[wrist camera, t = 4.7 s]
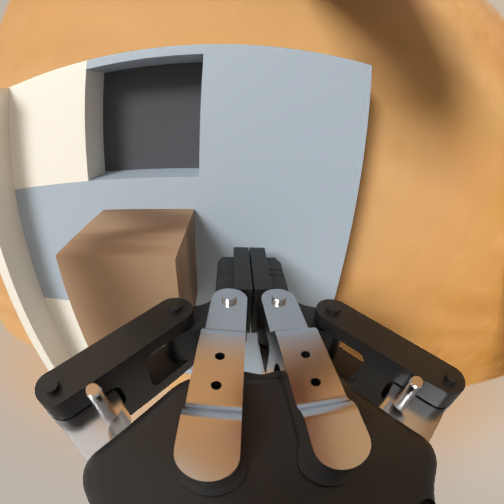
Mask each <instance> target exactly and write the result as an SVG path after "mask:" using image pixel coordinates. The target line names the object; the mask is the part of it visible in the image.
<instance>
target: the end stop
mask: <svg viewBox="0 0 504 504" xmlns="http://www.w3.org/2000/svg"><path fill="white" fill-rule="evenodd" d="M0 273H1V276H2V279H3V281H4V284H5V286H6V289H7V291H8V294H9V296H10V298H11V301H12V303H13V305H14V307H15V310H16V312H17V314H18V316H19V318H20V320H21V322H22V324H23V326H24V328H25V330H26V332H27V334H28V336H29V338H30V340H31V342H32V343H33V345H34V347H35V349H36V350H37V352H38V354H39V356H40V357H41V359H42V361H43V362H44V364H45V366H46V367H47V369H48V370H49V371H50V370H52V369H53V368H55V367H57V366H58V365H60V364H61V363H63V362H65V361H66V360H68V359H70V358H71V355H70V353H69V351H68V350H67V348H66V346H65V344H64V342H63V339H62V337H61V335H60V333H59V331H58V329H57V327H56V324H55V322H54V320H53V318H52V315H51V313H50V311H49V308H48V306H47V303H46V301H45V298H44V296H43V293H42V290H41V288H40V285H39V282H38V279H37V276H36V273H35V270H34V267H33V264H32V261H31V257H30V254H29V251H28V247H27V244H26V240H25V236H24V232H23V228H22V224H21V219H20V215H19V210H18V205H17V199H16V194H15V187H14V181H13V173H12V165H11V155H10V142H9V88H0Z"/></svg>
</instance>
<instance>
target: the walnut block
mask: <svg viewBox="0 0 504 504" xmlns="http://www.w3.org/2000/svg"><path fill="white" fill-rule="evenodd" d="M55 256H56V260H57V263H58V267H59V270H60V273H61V277H62V280H63V283H64V286H65V289H66V292H67V295H68V298H69V301H70V303H71V306H72V309H73V312H74V314H75V317H76V319H77V322H78V324H79V327H80V329H81V332H82V334H83V336H84V339H85V341H86V343H87V345H88V347H89V346H91V345H92V344H94V343H95V342H97V341H99V340H100V339H102V338H104V337H105V336H107V335H108V334H110V333H112V332H113V331H115V330H117V329H118V328H120V327H121V326H123V325H125V324H126V323H128V322H130V321H131V320H133V319H134V318H136V317H138V316H139V315H141V314H143V313H144V312H146V311H147V310H149V309H151V308H152V307H154V306H156V305H157V304H159V303H161V302H162V301H164V300H166V299H169V298H183V299H186V300H188V301H189V302H190V303H191V304H192V306H196V300H197V294H198V287H197V269H196V248H195V217H194V209H114V210H103V211H102V212H100V213H99V214H98V215H97V216H96V217H95V218H94V219H93V220H91V221H90V222H89V223H88V224H87V225H86V226H85V227H84V228H83V229H82V230H81V231H80V232H79V233H77V234H76V235H75V236H74V237H73V238H72V239H71V240H70V241H69V242H68V243H67V244H66V245H65V246H64V247H63V248H62V249H61V250H60V251H59V252H58V253H57V254H56V255H55ZM162 347H163V346H162ZM158 350H159V349H158ZM155 352H156V351H155ZM151 355H152V354H151Z"/></svg>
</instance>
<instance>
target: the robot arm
mask: <svg viewBox="0 0 504 504" xmlns="http://www.w3.org/2000/svg"><path fill="white" fill-rule="evenodd" d="M250 323H251V333H257V336H258V338H257V350H258V355H259V360H260V365H261V370H262V374H255V373H250V372H245V371H244V360H245V343H246V339H247V333H250ZM341 341H342V342H343V343H345V344H347V345H348V346H350V347H351V348H353V349H354V350H356V351H357V352H359V353H360V354H361V355H362V356H363V359H364V363H363V362H362V361H360V360H359V359H357V358H355V357H354V356H352V355H351V354H349V353H348V352H346V351H345V350H343V349H342V348H340V347H339V345H340V342H341ZM162 346H163V347H162ZM158 349H159V350H158ZM155 351H156V352H155ZM151 354H152V355H151ZM192 366H193V369H192V374H191V379H189V380H186V381H184V382H182V383H180V384H178V385H177V386H175V387H174V388H172V389H171V390H170V391H169V392H168V393H167V394H165V395H164V396H163V397H162V398H161V399H160V400H158V402H156V403H155V404H154V405H153V406H152V407H150V408H149V409H148V410H147V411H146V412H145V413H143V414H142V415H141V416H140V417H138V418H137V419H136V420H135V421H134V422H133V423H131V417H130V415H132V414H133V413H134V412H136V411H137V410H138V409H139V408H141V407H142V406H143V405H145V404H146V403H147V402H149V401H150V400H151V399H152V398H154V397H155V396H156V395H157V394H158V393H160V392H161V391H162V390H164V389H165V388H166V387H167V386H169V385H170V384H171V383H172V382H174V381H175V380H176V379H177V378H179V377H180V376H181V375H182V374H184V373H185V372H186V371H187V370H188V369H190V368H191V367H192ZM464 388H465V379H464V377H463V375H462V373H461V372H460V371H459V370H458V369H456V368H455V367H453V366H451V365H450V364H448V363H446V362H444V361H443V360H441V359H439V358H437V357H436V356H434V355H432V354H431V353H429V352H427V351H425V350H424V349H422V348H420V347H418V346H417V345H415V344H413V343H412V342H410V341H408V340H406V339H405V338H403V337H401V336H399V335H398V334H396V333H394V332H393V331H391V330H389V329H387V328H386V327H384V326H382V325H380V324H379V323H377V322H375V321H374V320H372V319H370V318H368V317H367V316H365V315H363V314H361V313H360V312H358V311H356V310H354V309H353V308H351V307H349V306H348V305H346V304H344V303H342V302H340V301H338V300H333V299H326V300H322V301H320V302H319V303H318V304H317V306H316V307H311V306H306V305H302V304H300V303H298V302H297V300H296V298H295V296H294V295H293V294H292V293H290V292H289V290H288V287H287V283H286V280H285V276H284V273H283V271H282V266H281V263H280V262H279V261H278V260H277V259H276V258H267V257H266V253H265V248H259V247H249V248H248V247H234V249H233V257H222V258H221V259H220V260H219V261H218V265H217V276H216V287H215V293H214V294H213V296H212V298H211V300H210V301H209V302H207V303H205V304H202V305H198V306H192V304H191V303H190V302H189V301H188V300H186V299H183V298H169V299H166V300H164V301H162V302H161V303H159V304H157V305H156V306H154V307H152V308H151V309H149V310H147V311H146V312H144V313H143V314H141V315H139V316H138V317H136V318H134V319H133V320H131V321H130V322H128V323H126V324H125V325H123V326H121V327H120V328H118V329H117V330H115V331H113V332H112V333H110V334H108V335H107V336H105V337H104V338H102V339H100V340H99V341H97V342H95V343H94V344H92V345H91V346H89V347H87V348H86V349H84V350H82V351H81V352H79V353H78V354H76V355H74V356H73V357H71V358H70V359H68V360H66V361H65V362H63V363H61V364H60V365H58V366H57V367H55V368H53V369H52V370H50V371H49V372H47V373H45V374H44V375H43V376H41V377H40V379H39V380H38V381H37V383H36V386H35V395H36V397H37V399H38V400H39V402H40V403H41V404H42V405H43V407H44V408H45V409H46V410H47V412H48V414H49V415H50V416H51V417H52V418H53V419H54V420H55V422H56V423H57V424H58V425H59V426H60V427H61V428H62V429H63V430H64V431H65V432H66V434H67V435H68V436H69V438H70V439H71V441H72V442H73V443H74V445H75V446H76V448H77V449H78V450H79V452H80V453H81V454H82V456H83V457H84V458H85V460H86V461H87V464H86V466H85V469H84V473H83V486H84V490H85V493H86V496H87V498H88V501H89V503H90V504H435V499H434V482H435V475H436V468H437V460H436V455H435V452H434V450H433V448H432V446H431V445H430V443H429V441H430V439H431V437H432V435H433V433H434V431H435V429H436V427H437V425H438V423H439V421H440V419H441V417H442V415H443V412H444V411H445V410H446V409H447V408H448V407H449V406H450V405H451V404H452V403H453V402H454V400H455V399H456V398H457V397H458V396H459V395H460V394H461V392H462V391H463V390H464ZM130 423H131V424H130Z"/></svg>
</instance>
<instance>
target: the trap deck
mask: <svg viewBox="0 0 504 504" xmlns="http://www.w3.org/2000/svg"><path fill="white" fill-rule="evenodd" d="M195 62H203V70H202V88H201V111H200V149H199V168H167V169H139V170H121V171H106V172H105V160H104V140H103V87H104V73H107V72H112V71H118V70H124V69H130V68H137V67H145V66H154V65H164V64H176V63H195ZM371 77H372V65H369V64H365V63H362V62H358V61H354V60H350V59H345V58H341V57H336V56H331V55H326V54H321V53H316V52H310V51H303V50H296V49H289V48H280V47H270V46H257V45H238V44H201V45H181V46H169V47H159V48H150V49H143V50H136V51H130V52H124V53H119V54H113V55H109V56H104V57H99V58H95V59H91V60H87V61H83V62H79V63H76V64H72V65H69V66H66V67H62V68H59V69H56V70H53V71H50V72H47V73H44V74H42V75H39V76H36V77H34V78H31V79H29V80H26V81H24V82H21V83H19V84H16V85H14V86H12V87H10V88H9V142H10V155H11V165H12V173H13V181H14V187H15V194H16V199H17V205H18V210H19V215H20V219H21V224H22V228H23V232H24V236H25V240H26V244H27V247H28V251H29V254H30V257H31V261H32V264H33V267H34V270H35V273H36V276H37V279H38V282H39V285H40V288H41V290H42V293H43V296H44V298H45V301H46V303H47V306H48V308H49V311H50V313H51V315H52V318H53V320H54V322H55V324H56V327H57V329H58V331H59V333H60V335H61V337H62V339H63V342H64V344H65V346H66V348H67V350H68V351H69V353H70V355H71V357H73V356H74V355H76V354H78V353H79V352H81V351H82V350H84V349H86V348H87V347H88V345H87V343H86V341H85V339H84V336H83V334H82V332H81V329H80V327H79V324H78V322H77V319H76V317H75V314H74V312H73V309H72V306H71V303H70V301H69V298H68V295H67V292H66V289H65V286H64V283H63V280H62V277H61V273H60V270H59V267H58V263H57V260H56V256H55V255H56V254H57V253H58V252H59V251H60V250H61V249H62V248H63V247H64V246H65V245H66V244H67V243H68V242H69V241H70V240H71V239H72V238H73V237H74V236H75V235H76V234H77V233H79V232H80V231H81V230H82V229H83V228H84V227H85V226H86V225H87V224H88V223H89V222H90V221H91V220H93V219H94V218H95V217H96V216H97V215H98V214H99V213H100V212H102V211H103V210H114V209H194V217H195V248H196V269H197V287H198V294H197V300H196V306H198V305H202V304H205V303H207V302H209V301H210V300H211V298H212V296H213V294H214V293H215V287H216V276H217V265H218V261H219V260H220V259H221V258H222V257H233V249H234V247H248V248H249V247H259V248H265V253H266V257H267V258H276V259H277V260H278V261H279V262H280V263H281V266H282V271H283V273H284V276H285V280H286V283H287V287H288V290H289V292H290V293H292V294H293V295H294V296H295V298H296V300H297V302H298V303H300V304H302V305H306V306H311V307H316V306H317V304H318V303H319V302H320V301H322V300H326V299H333V300H334V299H335V295H336V291H337V288H338V284H339V280H340V276H341V272H342V268H343V263H344V259H345V255H346V251H347V246H348V242H349V237H350V232H351V227H352V222H353V217H354V212H355V207H356V201H357V196H358V190H359V184H360V178H361V171H362V165H363V158H364V150H365V143H366V134H367V126H368V116H369V105H370V93H371ZM257 338H258V336H257V333H251V323H250V333H247V339H246V343H245V360H244V371H245V372H250V373H255V374H262V370H261V365H260V360H259V355H258V350H257ZM192 369H193V366H192V367H191V368H190V369H188V370H187V371H186V372H185V373H188V374H192Z"/></svg>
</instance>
